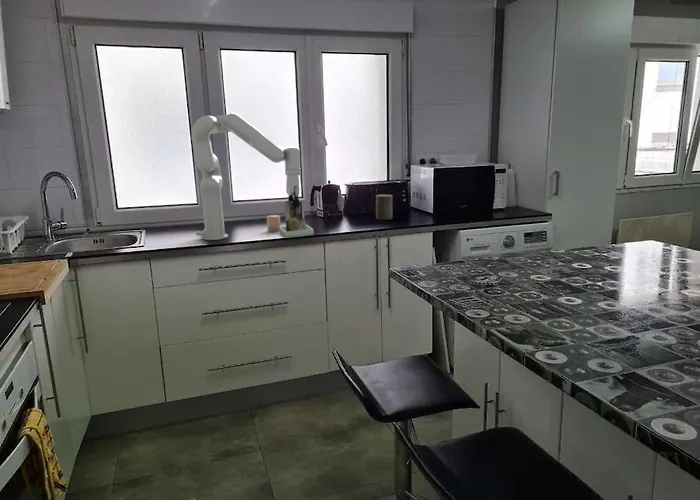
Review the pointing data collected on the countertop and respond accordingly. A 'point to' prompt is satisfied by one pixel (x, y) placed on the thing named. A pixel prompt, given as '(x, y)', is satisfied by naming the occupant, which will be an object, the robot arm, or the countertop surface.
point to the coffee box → (294, 216)
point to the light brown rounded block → (273, 223)
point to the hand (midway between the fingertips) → (293, 206)
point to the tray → (297, 232)
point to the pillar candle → (384, 207)
